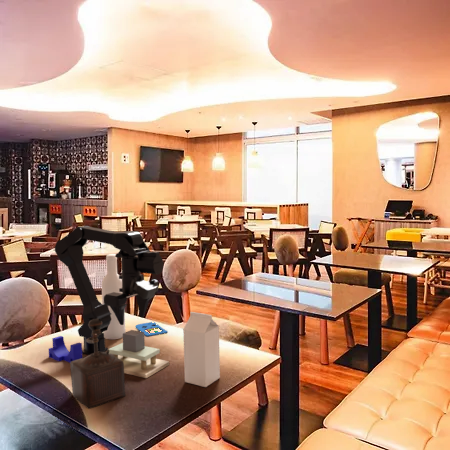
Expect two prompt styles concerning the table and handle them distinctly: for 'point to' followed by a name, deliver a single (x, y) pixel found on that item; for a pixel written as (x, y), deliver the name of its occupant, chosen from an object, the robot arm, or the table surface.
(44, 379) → the table surface
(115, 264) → the bottle
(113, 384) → the pepper mill
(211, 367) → the milk carton
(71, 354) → the cable clip
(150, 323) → the handheld gaming device
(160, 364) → the plate
